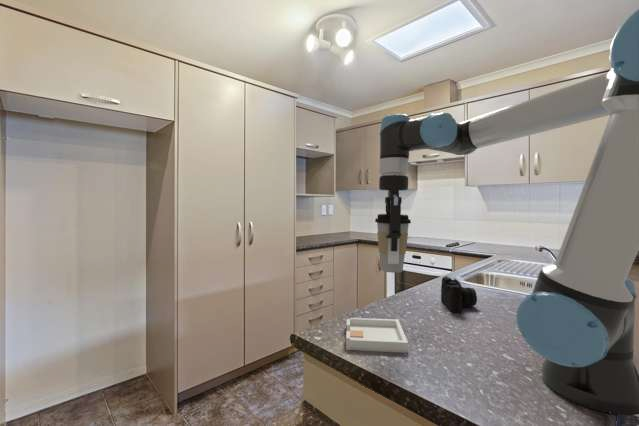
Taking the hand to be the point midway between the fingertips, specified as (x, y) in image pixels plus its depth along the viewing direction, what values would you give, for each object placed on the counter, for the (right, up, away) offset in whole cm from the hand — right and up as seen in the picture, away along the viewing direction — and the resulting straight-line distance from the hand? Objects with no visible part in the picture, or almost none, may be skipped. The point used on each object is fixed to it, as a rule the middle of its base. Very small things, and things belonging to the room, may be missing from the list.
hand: (391, 260), depth 83 cm
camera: (+30, -21, +25) cm, 44 cm away
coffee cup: (0, -3, 0) cm, 3 cm away
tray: (-5, -21, 0) cm, 22 cm away
